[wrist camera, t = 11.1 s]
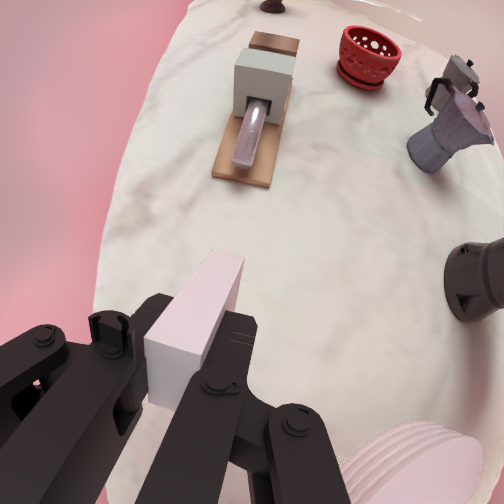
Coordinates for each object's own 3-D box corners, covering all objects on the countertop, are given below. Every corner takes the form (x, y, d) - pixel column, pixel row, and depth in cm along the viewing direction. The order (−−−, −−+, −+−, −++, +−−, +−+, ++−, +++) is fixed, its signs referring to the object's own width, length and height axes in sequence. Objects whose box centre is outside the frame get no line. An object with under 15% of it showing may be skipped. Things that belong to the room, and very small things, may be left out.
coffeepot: (419, 80, 55) (448, 38, 37) (444, 93, 55) (474, 55, 37) (433, 119, 51) (471, 74, 33) (459, 132, 51) (497, 93, 34)
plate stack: (346, 550, 26) (365, 580, 15) (293, 483, 31) (311, 523, 20) (454, 474, 31) (486, 490, 20) (432, 389, 36) (476, 400, 25)
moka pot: (437, 193, 45) (502, 143, 26) (385, 135, 47) (435, 68, 28) (452, 172, 47) (509, 125, 28) (405, 120, 49) (450, 61, 30)
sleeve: (284, 105, 44) (295, 57, 33) (279, 125, 43) (292, 75, 32) (240, 96, 44) (243, 47, 33) (233, 115, 43) (234, 64, 32)
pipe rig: (291, 82, 49) (302, 40, 38) (268, 188, 42) (280, 145, 31) (248, 74, 49) (252, 30, 37) (212, 176, 42) (206, 130, 31)
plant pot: (352, 56, 54) (367, 22, 42) (391, 88, 52) (412, 55, 40) (319, 66, 51) (332, 26, 40) (361, 101, 49) (383, 62, 38)
